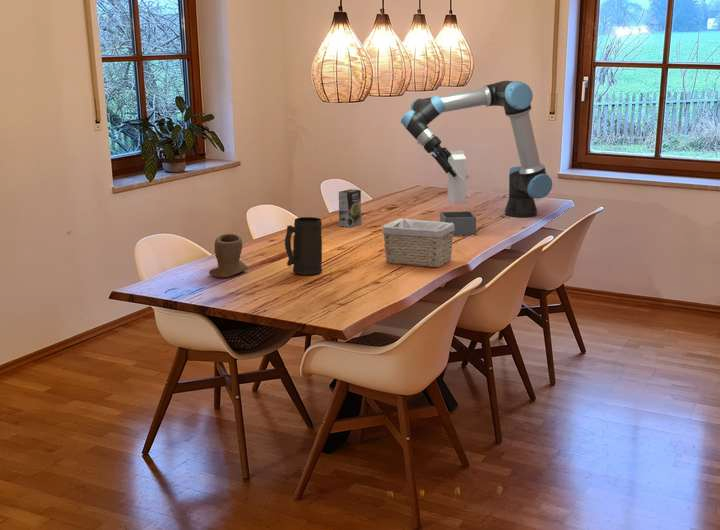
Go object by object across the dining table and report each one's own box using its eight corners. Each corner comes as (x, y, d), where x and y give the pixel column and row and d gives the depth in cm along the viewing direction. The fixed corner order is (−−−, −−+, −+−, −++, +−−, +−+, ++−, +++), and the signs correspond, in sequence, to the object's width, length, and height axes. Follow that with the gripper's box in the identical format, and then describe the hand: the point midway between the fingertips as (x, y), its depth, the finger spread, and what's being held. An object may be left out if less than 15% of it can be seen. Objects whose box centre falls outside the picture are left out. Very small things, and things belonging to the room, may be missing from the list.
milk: (447, 201, 371) (447, 150, 365) (459, 200, 373) (460, 149, 367) (453, 203, 365) (454, 152, 360) (466, 202, 367) (466, 151, 362)
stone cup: (228, 281, 305) (226, 240, 301) (204, 277, 311) (201, 236, 307) (257, 271, 316) (254, 232, 313) (233, 267, 323) (230, 228, 319)
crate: (470, 228, 380) (470, 211, 378) (476, 235, 367) (476, 217, 364) (440, 229, 379) (440, 212, 377) (444, 236, 366) (444, 218, 364)
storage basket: (381, 263, 325) (380, 225, 322) (399, 253, 339) (399, 217, 335) (438, 270, 314) (439, 230, 310) (455, 259, 328) (456, 222, 324)
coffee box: (349, 228, 387) (349, 192, 383) (338, 226, 391) (337, 191, 386) (362, 224, 394) (361, 189, 390) (351, 222, 398) (350, 188, 393)
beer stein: (308, 266, 322) (306, 214, 317) (329, 271, 315) (327, 217, 310) (279, 275, 311) (276, 221, 306) (300, 280, 304) (298, 225, 299)
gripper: (431, 144, 379) (465, 182, 376) (414, 150, 360) (450, 189, 358) (443, 132, 375) (477, 170, 373) (426, 137, 357) (463, 177, 354)
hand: (464, 179), depth 365 cm, fingers closed on milk, 8 cm apart
